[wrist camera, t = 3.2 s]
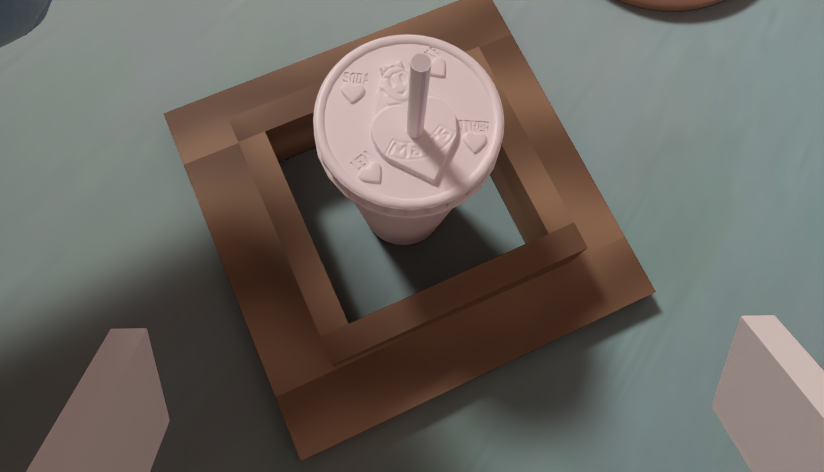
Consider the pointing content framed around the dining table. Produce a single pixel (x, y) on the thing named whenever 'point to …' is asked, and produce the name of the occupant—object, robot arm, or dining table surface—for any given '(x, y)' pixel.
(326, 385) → the cup holder
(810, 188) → the dining table surface
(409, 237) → the smoothie
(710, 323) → the dining table surface
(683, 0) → the coaster
